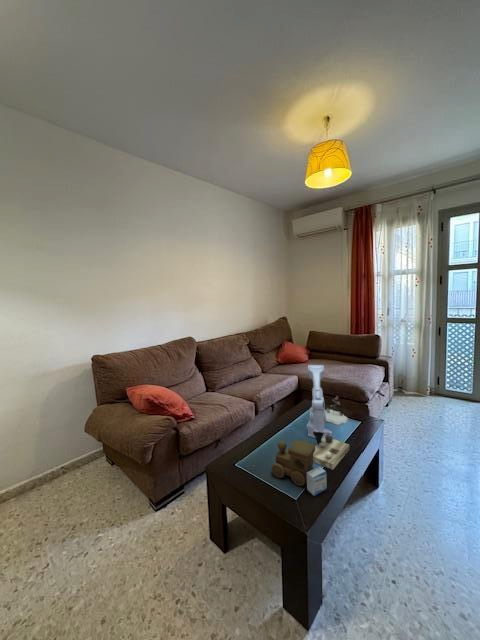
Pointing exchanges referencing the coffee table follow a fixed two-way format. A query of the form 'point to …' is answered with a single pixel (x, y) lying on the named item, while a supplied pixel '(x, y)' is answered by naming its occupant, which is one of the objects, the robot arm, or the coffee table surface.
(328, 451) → the cream plastic ball
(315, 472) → the medicine box
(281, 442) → the wooden toy train
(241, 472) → the coffee table surface
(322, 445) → the steel ball
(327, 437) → the black rubber ball
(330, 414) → the figurine
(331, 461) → the cream knobbed board
